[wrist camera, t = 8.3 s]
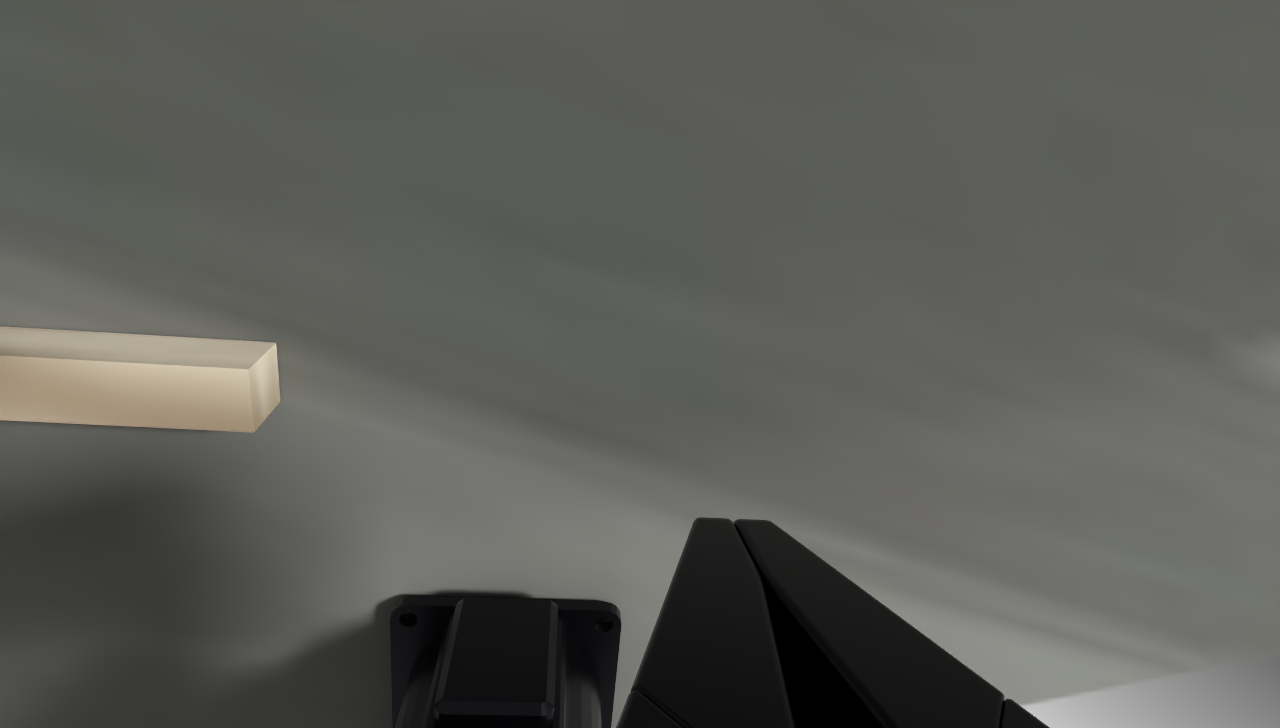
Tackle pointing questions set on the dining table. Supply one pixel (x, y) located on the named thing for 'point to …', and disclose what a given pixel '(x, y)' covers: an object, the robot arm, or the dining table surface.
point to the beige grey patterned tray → (136, 380)
